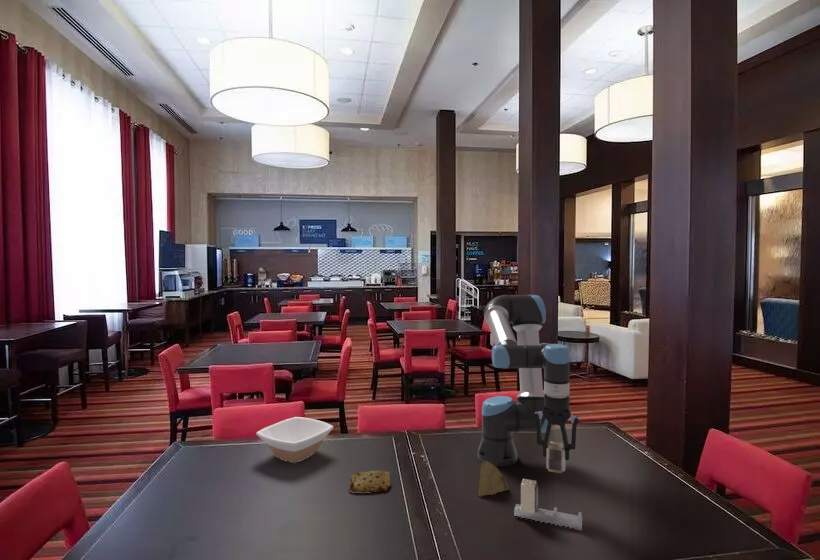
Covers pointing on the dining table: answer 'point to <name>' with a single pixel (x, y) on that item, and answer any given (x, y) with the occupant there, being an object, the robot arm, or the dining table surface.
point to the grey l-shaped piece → (532, 512)
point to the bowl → (295, 437)
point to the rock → (491, 480)
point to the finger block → (555, 457)
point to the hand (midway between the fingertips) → (555, 467)
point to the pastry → (370, 481)
